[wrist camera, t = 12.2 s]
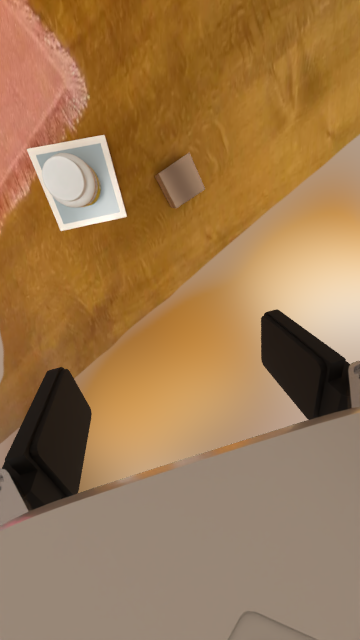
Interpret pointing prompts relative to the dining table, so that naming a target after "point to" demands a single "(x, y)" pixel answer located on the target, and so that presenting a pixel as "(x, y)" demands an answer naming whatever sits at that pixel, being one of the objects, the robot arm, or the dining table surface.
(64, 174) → the supplement bottle
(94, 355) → the dining table surface
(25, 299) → the dining table surface
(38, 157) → the base
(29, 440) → the robot arm
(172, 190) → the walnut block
